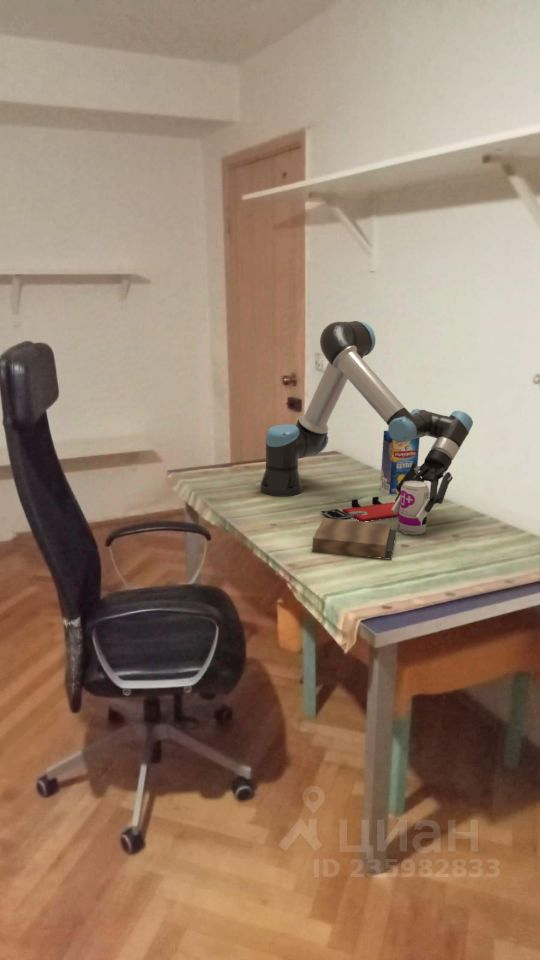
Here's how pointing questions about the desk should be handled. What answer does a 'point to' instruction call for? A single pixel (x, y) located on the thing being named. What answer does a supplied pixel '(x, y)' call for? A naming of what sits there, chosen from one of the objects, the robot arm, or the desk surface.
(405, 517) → the supplement can
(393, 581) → the desk surface
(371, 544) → the brown flat block
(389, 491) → the beverage box
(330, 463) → the desk surface
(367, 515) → the red board with handle
